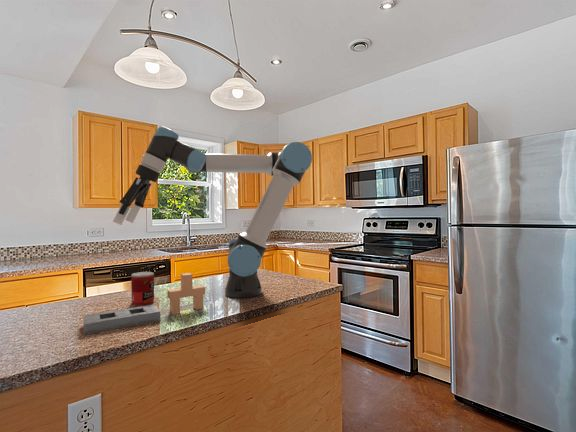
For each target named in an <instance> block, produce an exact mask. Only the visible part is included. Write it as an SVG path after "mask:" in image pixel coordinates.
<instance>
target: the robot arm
mask: <svg viewBox="0 0 576 432" xmlns="http://www.w3.org/2000/svg"><path fill="white" fill-rule="evenodd" d="M179 137H180V136H179V134H178V133H177V132H175V131H174V130H172V129H170V128H168V127H166V126H164V125H161V126H159V127H158V128H157V130H156V131H155V133H154V134H153V136H152V138H151V141H150V143H149V145H148V147H147V148H146V151H145V153H144V154H142V155H141V157H142V159H141V160H140V163H141V164H139V165H137V168H136V170H135V174H136V175H138V176H139V177H135V178H134V180H133V182H132V184H131V185H130V186H129V188H128V190H127V191H126V193H125V194H124V195H123V197H122V198H121V199H120V200H119V203H120V204H121V205H120V207H119V208H118V210H117V212H116V214H115V217H114V218H113V220H112V222H113V223H114V224H115V223H116V224H118V225H120V226H122V225H123V222H124V221H127V222H129V223H131V224H133V223H134V221H135V220H136V218H137V215H138V214H139V211H140V210H141V208H144V206H145V205H144V204H145V201H146V199H147V195H148V194H149V193H148V192H149V190H150V188H151V186H152V183H156V182H157V181H158V179H159V177H160V173H162V172H163V170H164V168H165V166H166V163H167V161H168V160H171V161H173V162H175V163H177V164H179V165H180V166H183V167H184V168H185V170H186V171H188V172H190V173H193V174H197V173H238V174H239V173H242V174H244V173H245V174H246V173H248V174H249V173H250V174H251V173H253V174H268V175H269V176H271V180H270V182H269V184H268V186H267V188H266V190H265V191H264V193H263V196H262V197H261V200H260V202H259V203H258V206H257V208H256V210H255V212H254V213H253V215H252V217H251V220H250V221H249V223H248V226H247V227H246V229H245V231H243V232H240V233H239V234H238V236H237V238H231V239H229V241H228V255H227V266H228V268H229V269H228V271H229V272H228V278H227V281H226V285H225V287H224V294H225V296H226V297H229V298H235V299H245V298H246V299H247V298H253V297H258V296H260V295H261V294H262V293H263V292H262V290H263V289H262V288H263V287H262V285H261V282H260V279H259V278H260V277H258V276H259V275H258V270H259V269H260V267H261V264H262V258H263V257H264V254H265V252H266V250H267V249H268V246H267V243H266V241H267V240H268V238H269V236H270V234H271V231H272V229H273V228H274V225H275V224H276V222H277V220H278V218H279V216H280V213H281V212H282V210H283V208H284V206H285V204H286V202H287V201H288V198H289V195H290V194H291V192H292V190H293V187H295V186H297V185H299V184H300V183H301V181H302V179H303V177H304V175H305V174H306V171H307V170H309V168H310V167H311V164H312V162H313V155H312V151H311V149H310V148H309V147H308V146H307V145H306V144H305V143H303V142H300V141H292V142H290V143H287V144H286V145H284V147H282V149H281V151H276V152H269V153H268V154H250V153H249V154H247V153H246V154H243V153H239V154H238V153H208V152H207V153H205V152H203V151H201V150H200V149H197V148H195V147H192V146H190V145H188V144H187V143H185V142H183V141H180V140H179ZM133 202H134V203H133ZM131 205H132V206H131ZM130 206H131V207H130Z"/></svg>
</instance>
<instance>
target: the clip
mask: <svg viewBox="0 0 576 432" xmlns="http://www.w3.org/2000/svg"><path fill="white" fill-rule="evenodd" d="M166 291H167V293H166V295H167V298H168V299H169V312H170V313H171V314H172V315H176V314H180V313H181V299H182V298H190V297H192V308H193V309H194V310H196V311H197V310H198V311H199V310H202V309H204V295H206V286H204V285H202V284H201V285H194V286H193V274H192V273H191V272H186V273H180V288H172V289H167V290H166Z"/></svg>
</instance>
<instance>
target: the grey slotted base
mask: <svg viewBox="0 0 576 432" xmlns="http://www.w3.org/2000/svg"><path fill="white" fill-rule="evenodd" d="M157 322H161V310H160V309H159V308H158V307H157V306H156V304H154V303H153V304H150V305H149V304H147V305H141V306H137V307H129V308H124V309H118V310H111V311H105V312H98V313H91V314H85V315H83V336H86V335H93V334H98V333H103V332H107V331H113V330H119V329H123V328H130V327H134V326H141V325H145V324H151V323H157Z"/></svg>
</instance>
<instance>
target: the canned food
mask: <svg viewBox="0 0 576 432" xmlns="http://www.w3.org/2000/svg"><path fill="white" fill-rule="evenodd" d="M130 277H131V279H130V283H131V284H130V285H131V287H130V289H131V290H130V291H131V304H132V305H134V306H148V305H149V304H150V305H151V304H152V303H154V301H155V273H154V272H152V271H140V272H133V273H131V276H130Z"/></svg>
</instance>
